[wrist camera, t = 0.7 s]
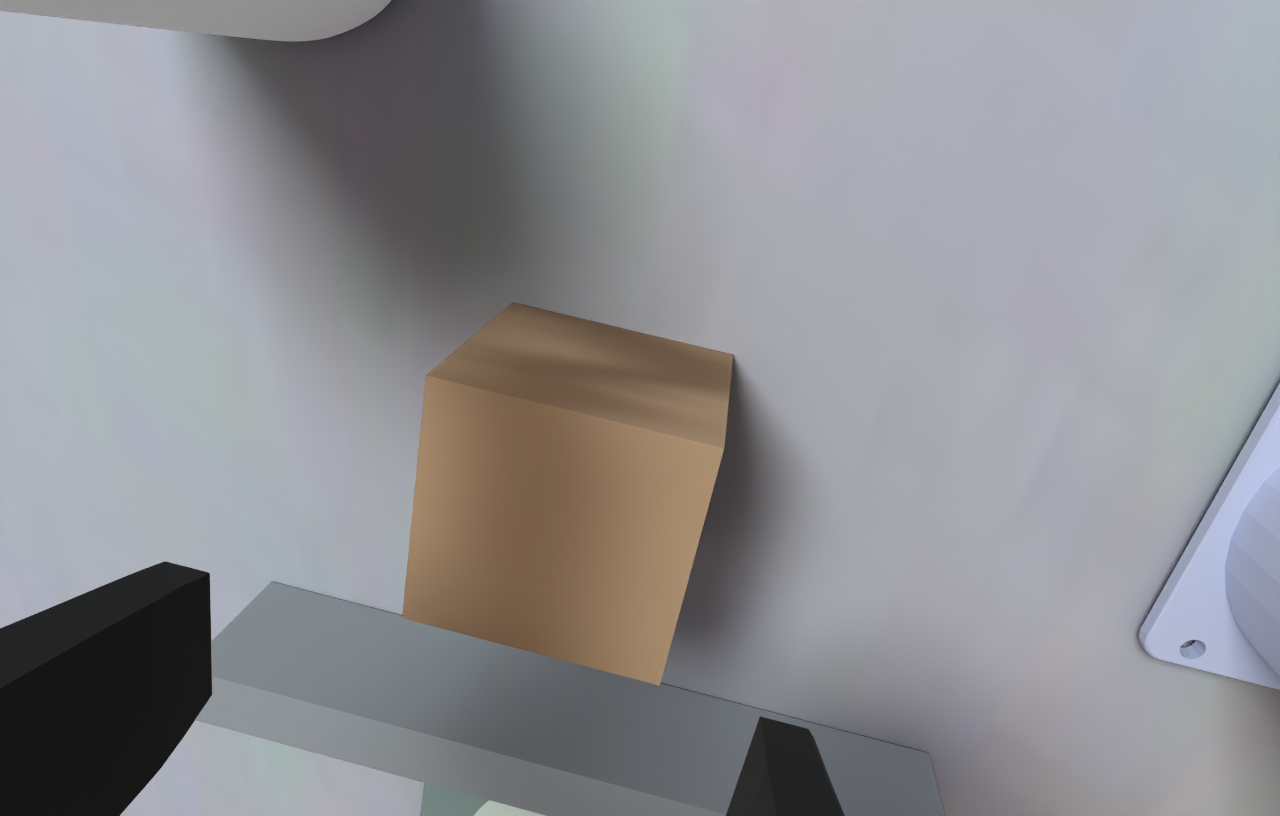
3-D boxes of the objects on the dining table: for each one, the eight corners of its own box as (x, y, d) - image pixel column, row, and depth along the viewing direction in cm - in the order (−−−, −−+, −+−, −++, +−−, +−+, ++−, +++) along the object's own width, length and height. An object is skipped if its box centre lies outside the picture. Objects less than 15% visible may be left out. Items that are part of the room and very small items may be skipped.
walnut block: (733, 353, 17) (724, 448, 12) (683, 543, 19) (659, 685, 14) (514, 301, 17) (426, 375, 13) (486, 494, 19) (402, 618, 15)
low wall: (928, 753, 20) (961, 878, 17) (909, 794, 21) (937, 922, 18) (271, 581, 21) (184, 668, 18) (270, 625, 22) (186, 717, 18)
